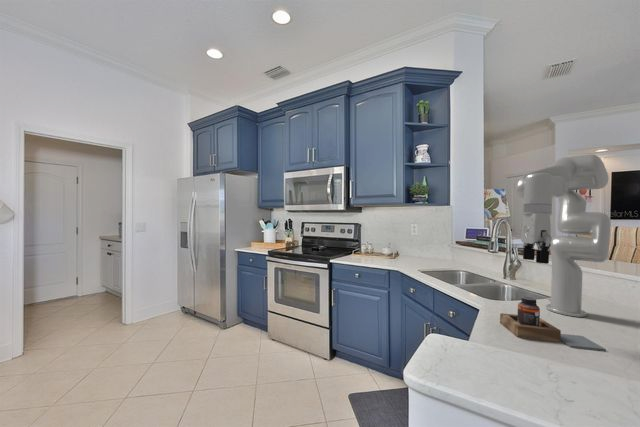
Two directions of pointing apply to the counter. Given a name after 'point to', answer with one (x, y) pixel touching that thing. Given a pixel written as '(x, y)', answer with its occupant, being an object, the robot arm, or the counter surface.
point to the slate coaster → (580, 342)
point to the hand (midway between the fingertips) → (535, 261)
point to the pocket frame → (530, 329)
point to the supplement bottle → (528, 312)
